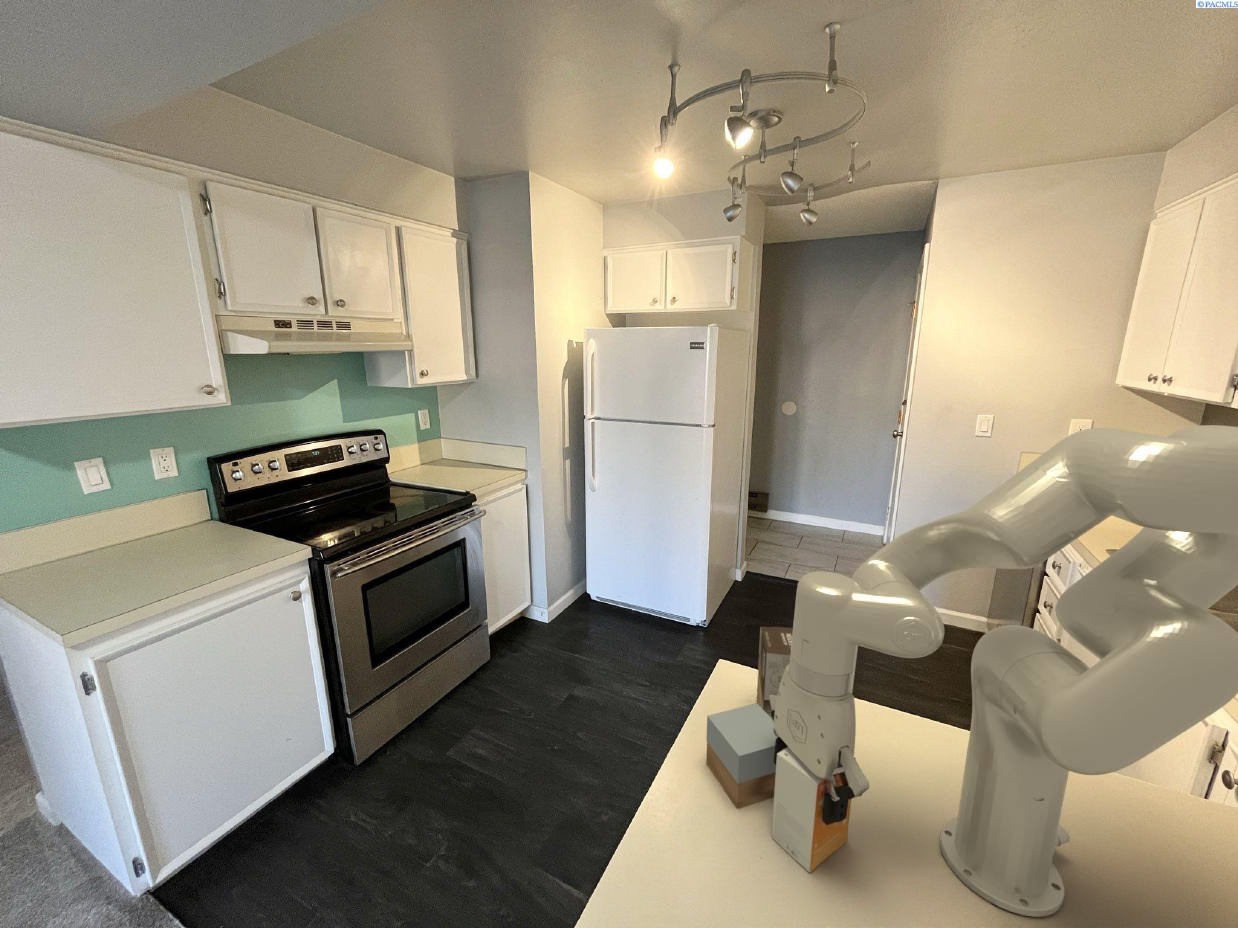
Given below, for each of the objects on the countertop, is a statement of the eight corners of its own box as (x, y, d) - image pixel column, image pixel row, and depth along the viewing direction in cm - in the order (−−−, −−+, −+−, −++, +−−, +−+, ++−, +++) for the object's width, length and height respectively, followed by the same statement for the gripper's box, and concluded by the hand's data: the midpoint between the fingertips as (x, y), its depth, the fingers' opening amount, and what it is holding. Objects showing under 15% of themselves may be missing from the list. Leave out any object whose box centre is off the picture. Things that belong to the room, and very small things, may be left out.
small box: (810, 875, 64) (817, 784, 62) (769, 837, 70) (775, 752, 67) (848, 842, 69) (857, 756, 66) (808, 808, 74) (814, 728, 72)
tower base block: (754, 751, 85) (755, 727, 84) (789, 793, 77) (791, 766, 76) (706, 765, 82) (707, 740, 82) (736, 810, 74) (738, 783, 73)
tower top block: (755, 727, 84) (756, 702, 84) (790, 767, 76) (792, 740, 75) (706, 740, 81) (707, 715, 81) (737, 783, 73) (739, 755, 72)
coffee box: (800, 742, 87) (806, 655, 84) (760, 738, 88) (765, 652, 85) (790, 707, 96) (795, 627, 93) (754, 704, 97) (758, 624, 94)
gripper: (755, 641, 71) (745, 749, 75) (848, 723, 55) (831, 856, 59) (800, 632, 74) (789, 738, 77) (901, 709, 58) (882, 838, 61)
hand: (807, 789), depth 68 cm, fingers open, 9 cm apart
